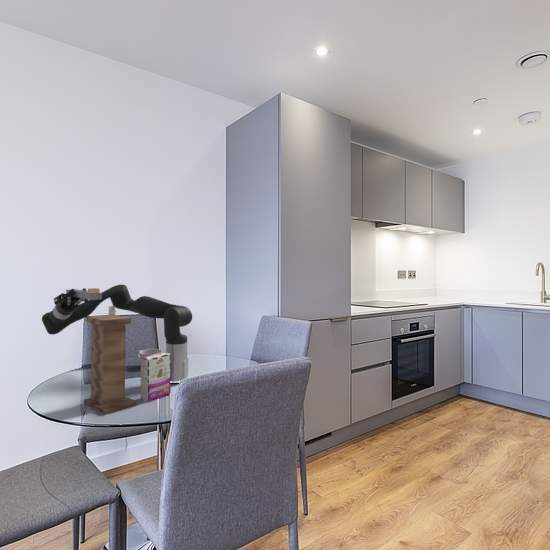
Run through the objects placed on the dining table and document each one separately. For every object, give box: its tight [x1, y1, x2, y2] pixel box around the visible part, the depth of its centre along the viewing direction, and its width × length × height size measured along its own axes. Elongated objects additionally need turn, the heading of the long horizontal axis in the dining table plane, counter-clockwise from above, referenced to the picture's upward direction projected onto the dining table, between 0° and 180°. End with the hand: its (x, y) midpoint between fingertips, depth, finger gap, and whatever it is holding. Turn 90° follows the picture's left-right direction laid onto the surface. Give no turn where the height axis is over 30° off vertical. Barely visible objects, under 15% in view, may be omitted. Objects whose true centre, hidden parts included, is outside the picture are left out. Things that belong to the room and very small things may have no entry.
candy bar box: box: [140, 351, 172, 402], centre depth 150 cm, size 11×5×16 cm, turn 148°
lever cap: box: [65, 287, 102, 300], centre depth 155 cm, size 24×4×4 cm, turn 49°
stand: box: [83, 314, 138, 416], centre depth 141 cm, size 17×12×32 cm
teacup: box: [136, 348, 162, 365], centre depth 194 cm, size 14×11×8 cm
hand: (79, 290), depth 158 cm, fingers closed on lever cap, 4 cm apart
